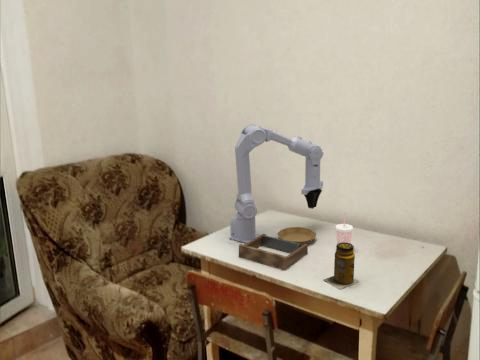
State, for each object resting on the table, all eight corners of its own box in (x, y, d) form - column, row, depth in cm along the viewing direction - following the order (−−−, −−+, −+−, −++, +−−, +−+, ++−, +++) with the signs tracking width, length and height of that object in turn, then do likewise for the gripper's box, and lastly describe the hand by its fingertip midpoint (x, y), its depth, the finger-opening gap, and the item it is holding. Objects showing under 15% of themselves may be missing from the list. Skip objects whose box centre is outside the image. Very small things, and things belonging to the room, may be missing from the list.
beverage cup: (331, 250, 164) (332, 214, 161) (340, 245, 169) (341, 209, 165) (346, 255, 160) (347, 217, 157) (355, 249, 165) (356, 213, 161)
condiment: (359, 281, 142) (361, 246, 138) (340, 289, 137) (341, 253, 134) (342, 273, 147) (343, 238, 144) (323, 280, 143) (324, 245, 140)
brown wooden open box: (238, 256, 161) (238, 245, 160) (263, 242, 173) (263, 231, 172) (285, 270, 150) (285, 257, 149) (307, 253, 163) (307, 241, 161)
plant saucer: (272, 235, 180) (272, 229, 179) (306, 231, 184) (306, 225, 183) (285, 250, 166) (285, 243, 166) (322, 244, 170) (322, 238, 169)
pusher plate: (262, 245, 170) (261, 235, 169) (263, 244, 171) (263, 234, 170) (299, 255, 161) (299, 244, 160) (300, 254, 162) (300, 243, 161)
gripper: (313, 180, 171) (312, 214, 174) (330, 171, 182) (329, 204, 185) (296, 177, 175) (296, 211, 178) (314, 169, 186) (313, 201, 190)
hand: (312, 207), depth 182 cm, fingers closed
